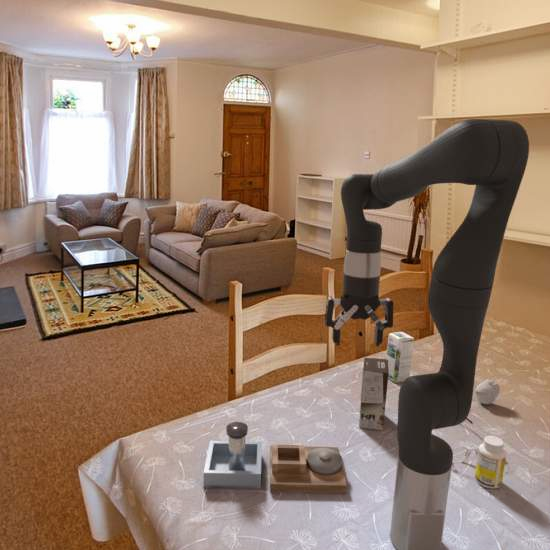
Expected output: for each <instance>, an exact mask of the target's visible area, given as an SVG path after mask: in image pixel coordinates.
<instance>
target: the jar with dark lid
mask: <svg viewBox="0 0 550 550" xmlns="http://www.w3.org/2000/svg"><path fill="white" fill-rule="evenodd" d="M248 429H249V427H248V425H247V424H246V423H245V422H241V421H233V422H232V421H231V422H230V423H228V424H227V425H226V433H225V434H226V435H227V436H228V441H229V470H231V471H244V470H245V442H246V436H247V435H248V431H249V430H248Z"/></svg>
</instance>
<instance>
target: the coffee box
mask: <svg viewBox="0 0 550 550" xmlns="http://www.w3.org/2000/svg"><path fill="white" fill-rule="evenodd" d="M362 368H363V369H362V380H361V393H360V405H359V406H360V407H359V408H360V409H359V418H358V419H359V423H358V427H359V428H363V429H370V430H376V431H377V430H378V431H383V430H384V422H385V413H386V405H387V404H386V402H387V393H388V382H389V378H388V374H389V368H388V360H387V359H386V358H374V357H372V358H371V357H364V358H363V367H362Z"/></svg>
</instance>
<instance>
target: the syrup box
mask: <svg viewBox="0 0 550 550" xmlns="http://www.w3.org/2000/svg"><path fill="white" fill-rule="evenodd" d="M414 342H415V338H414V337H413V336H411V335H410V334H407V333H405V332H404V331H394V332H391V333H388V338H387V349H386V358H385V359H387V360H388V368H389V374H388V380H390V381H392V382H393V383H394V384H399V383H403V381H404V380H405V379H406V378H408V377H411V368H412V358H413V348H414Z"/></svg>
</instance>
